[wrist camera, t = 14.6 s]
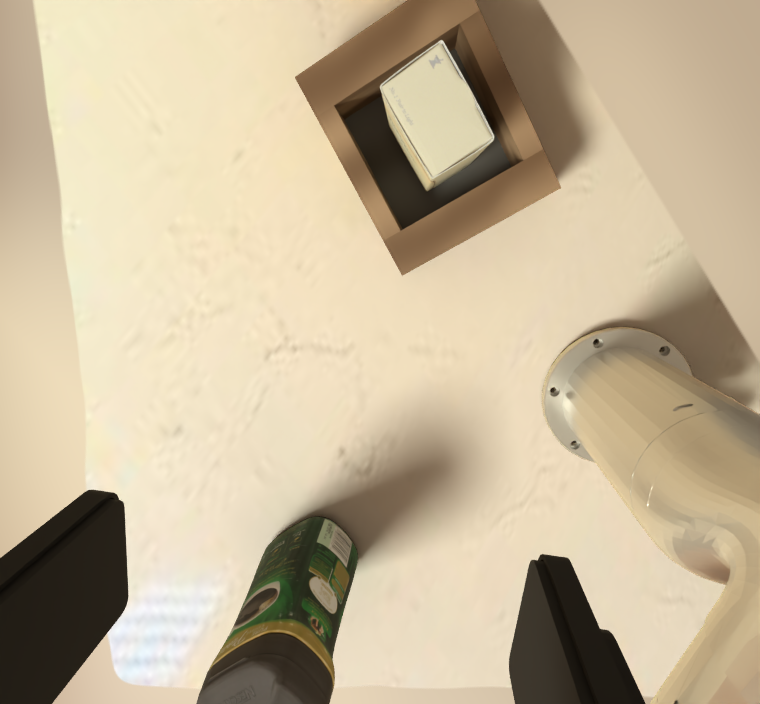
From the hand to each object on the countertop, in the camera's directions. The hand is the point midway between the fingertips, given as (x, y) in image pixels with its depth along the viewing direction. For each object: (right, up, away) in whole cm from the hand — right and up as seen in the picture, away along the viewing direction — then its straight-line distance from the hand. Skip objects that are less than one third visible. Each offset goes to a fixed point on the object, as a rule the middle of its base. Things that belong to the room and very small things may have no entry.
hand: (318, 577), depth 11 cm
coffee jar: (-6, -16, +39) cm, 43 cm away
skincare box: (+6, +22, +28) cm, 36 cm away
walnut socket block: (+5, +22, +28) cm, 36 cm away
